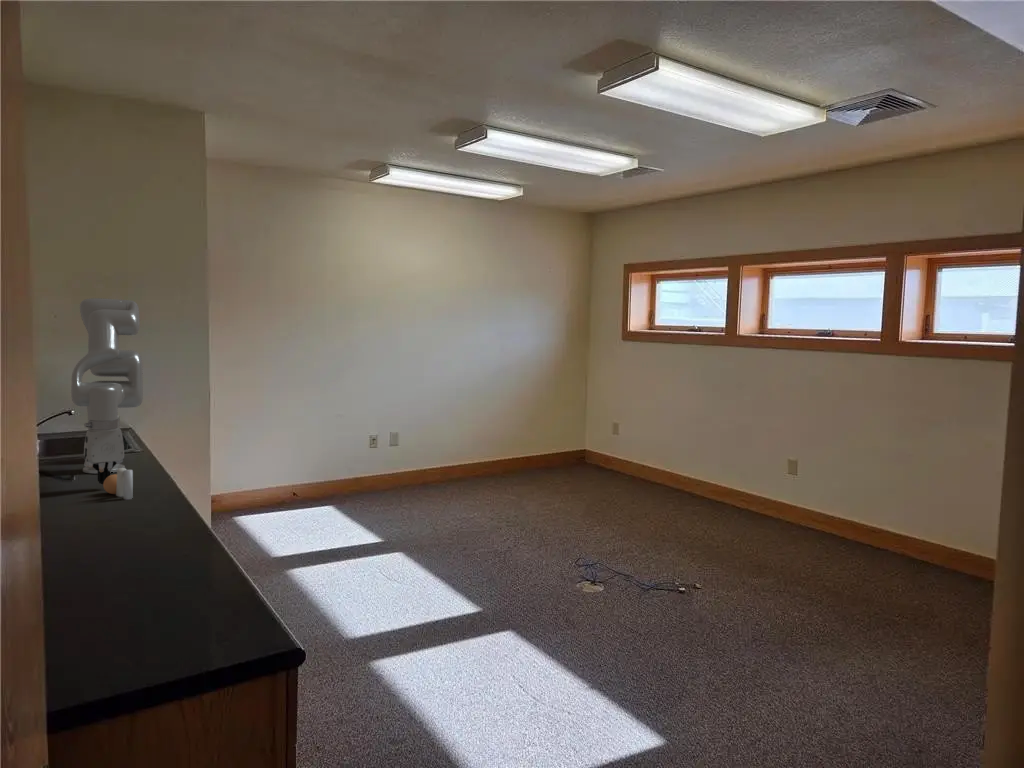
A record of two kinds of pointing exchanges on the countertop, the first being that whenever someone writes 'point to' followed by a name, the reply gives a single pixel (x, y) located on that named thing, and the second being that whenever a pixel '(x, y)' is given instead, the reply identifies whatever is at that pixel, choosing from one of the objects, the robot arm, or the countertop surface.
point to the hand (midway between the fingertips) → (103, 483)
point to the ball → (110, 484)
